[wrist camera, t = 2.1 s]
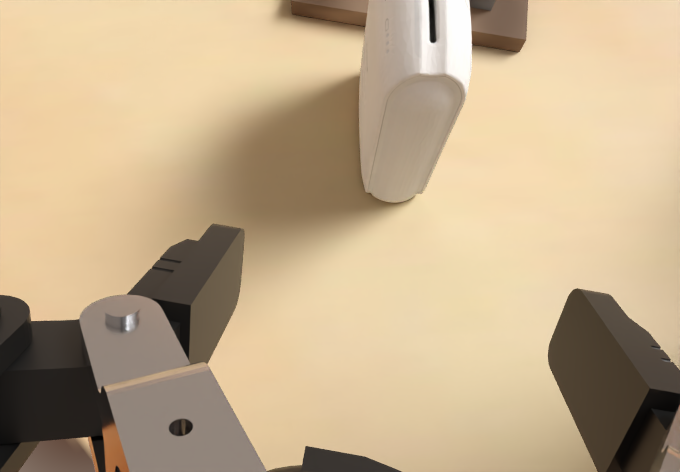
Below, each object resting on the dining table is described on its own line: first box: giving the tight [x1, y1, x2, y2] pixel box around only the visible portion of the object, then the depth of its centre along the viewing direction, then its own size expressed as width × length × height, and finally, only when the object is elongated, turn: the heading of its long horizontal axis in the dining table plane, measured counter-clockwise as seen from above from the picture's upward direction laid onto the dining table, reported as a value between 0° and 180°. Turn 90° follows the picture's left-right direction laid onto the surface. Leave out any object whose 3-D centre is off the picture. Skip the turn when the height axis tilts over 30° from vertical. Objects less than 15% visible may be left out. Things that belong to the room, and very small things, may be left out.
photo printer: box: [359, 0, 472, 203], centre depth 27 cm, size 10×4×12 cm, turn 0°
